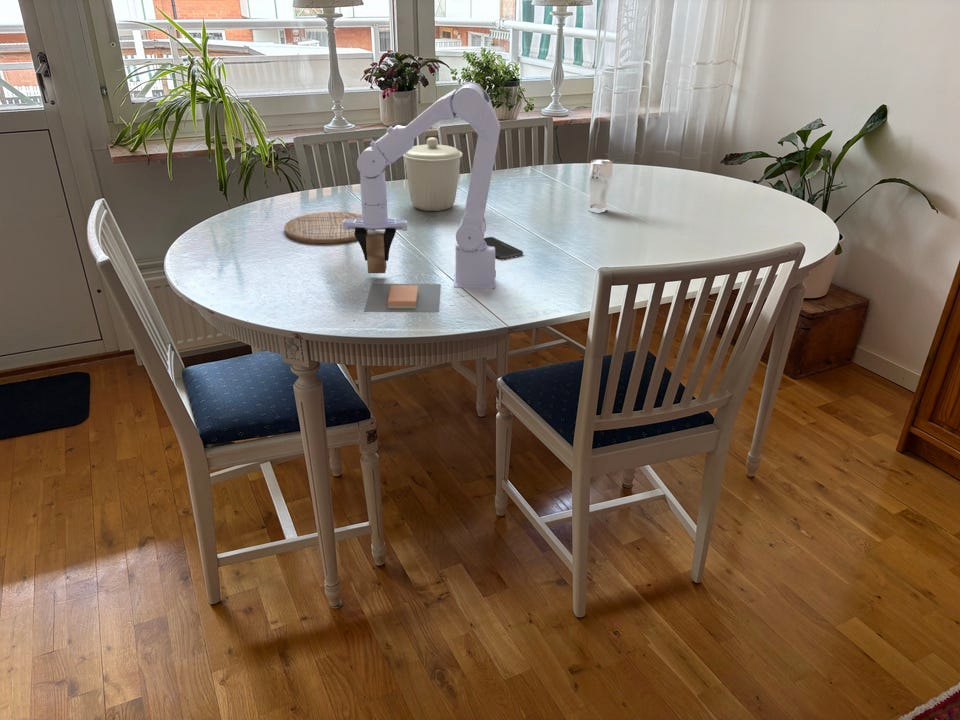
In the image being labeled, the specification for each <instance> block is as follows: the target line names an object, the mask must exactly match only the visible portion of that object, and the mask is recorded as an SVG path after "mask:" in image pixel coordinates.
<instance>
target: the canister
mask: <svg viewBox="0 0 960 720" xmlns="http://www.w3.org/2000/svg"><path fill="white" fill-rule="evenodd" d="M402 157H403V158H404V162H405V170H406V178H407V185H408V192H409V197H410V198H409V199H410V201H411V204H412V205H413V207H414V208H416V209H418V210H420V211H421V210H422V211H425V212H426V211H427V212H439V211H446V210H448V209H451V208H452V207H453V206H454V203H455V202H456V198H457V189H458V181H459V175H460V174H459V173H460V164H461V158H462V157H463V152H462V151H461V150H459V149H458V148H456V147H454V146H450V145H445V144H439V140H438V139H437V137H433V136H432V137H428V138H427V139H426V143H425V144H418V145H413V148H412V149H410V150H409V151H408V152H406V153H405V154H404V155H402Z"/></svg>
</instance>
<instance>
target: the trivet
mask: <svg viewBox="0 0 960 720" xmlns="http://www.w3.org/2000/svg"><path fill="white" fill-rule="evenodd" d="M361 218H362V213H361V214H360V213H354V212H347V211H346V212H345V211H326V212H316V213H308V214H304V215H301V216H296V217H295V218H292V219H290V220H289V221H288V222H286V223H285V225H284V234H285V236H286V237H287V238H289V239H290V240H292V241H295V242H298V243H303V244H309V245H325V246H326V245H339V244H346V243H354V242H358V240H357V239H356V237H355V234H354V233H355V229H348V230H343V221H344V220H349V219H361ZM368 231H376V230H369V229H368V230H367V232H368Z"/></svg>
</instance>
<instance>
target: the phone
mask: <svg viewBox="0 0 960 720" xmlns="http://www.w3.org/2000/svg"><path fill="white" fill-rule="evenodd" d="M484 240H485V242H486V243H487V246H491V247H495V257H496V258H495V259H496V260H499V259H502V260H503V259H504V260H507V258H509V259H512V258H511V257H513V258H516V257H515V256H518V257H520V256H519V255H522V254H523V255H524V251H523V250H521V249H519V248H517V247H515V246H512V245H511V244H509V243H506V242H504V241H502V240H499V239H498V238H496V237H493V236H489V237H484ZM523 255H522V256H523ZM502 260H501V261H502Z"/></svg>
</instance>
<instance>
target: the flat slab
mask: <svg viewBox="0 0 960 720" xmlns="http://www.w3.org/2000/svg"><path fill="white" fill-rule="evenodd" d="M417 297H418V285H391V290H390V294H389V299H388V308H416V305H417Z"/></svg>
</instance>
